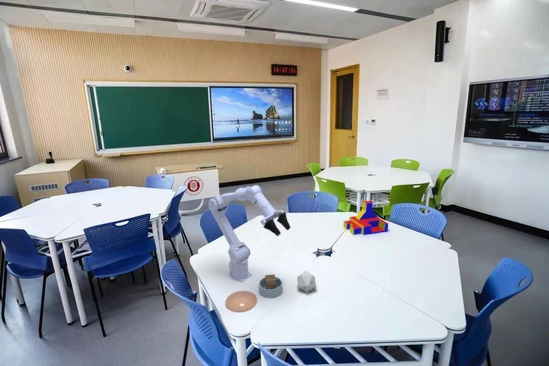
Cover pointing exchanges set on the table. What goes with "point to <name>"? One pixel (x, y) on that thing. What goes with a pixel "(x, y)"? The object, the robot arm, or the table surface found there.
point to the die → (306, 281)
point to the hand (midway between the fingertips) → (284, 231)
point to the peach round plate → (241, 301)
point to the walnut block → (270, 281)
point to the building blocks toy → (366, 222)
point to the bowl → (268, 292)
